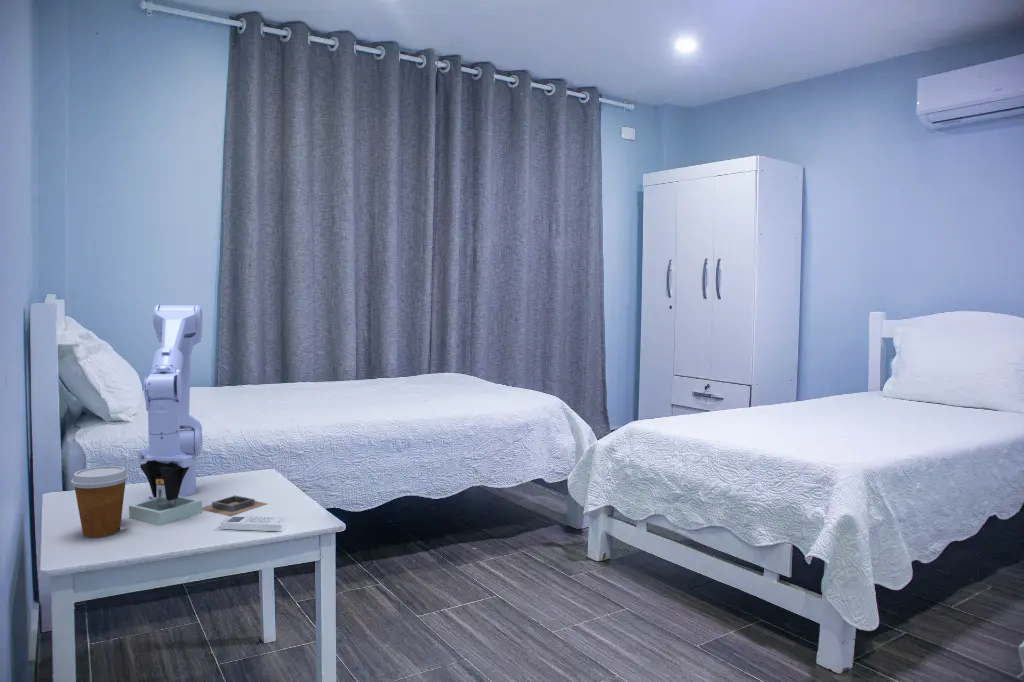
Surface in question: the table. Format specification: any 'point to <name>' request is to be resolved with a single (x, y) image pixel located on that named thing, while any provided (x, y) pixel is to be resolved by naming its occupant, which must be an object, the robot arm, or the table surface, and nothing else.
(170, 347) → the robot arm
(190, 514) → the bin
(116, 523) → the disposable coffee cup
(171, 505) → the metal can
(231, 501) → the socket plate
